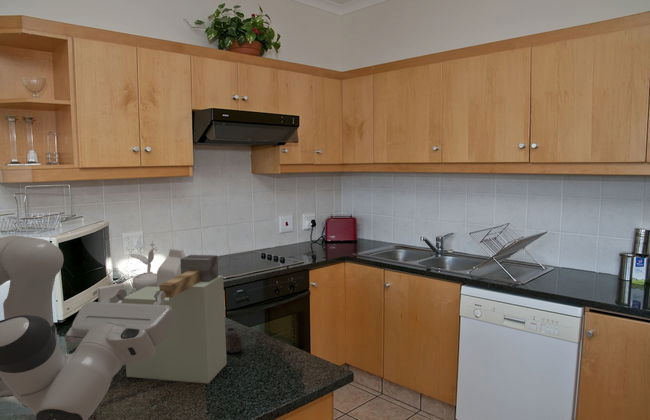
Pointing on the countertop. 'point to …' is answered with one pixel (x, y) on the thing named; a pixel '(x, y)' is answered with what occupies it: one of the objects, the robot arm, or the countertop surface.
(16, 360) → the robot arm
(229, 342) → the perforated stone tool
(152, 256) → the potted plant
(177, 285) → the mallet
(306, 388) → the countertop surface
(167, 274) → the milk
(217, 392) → the countertop surface
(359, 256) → the countertop surface
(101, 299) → the cylinder with rectangular tab
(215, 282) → the block
